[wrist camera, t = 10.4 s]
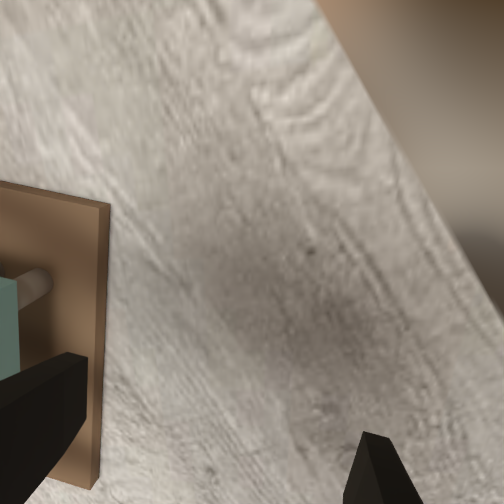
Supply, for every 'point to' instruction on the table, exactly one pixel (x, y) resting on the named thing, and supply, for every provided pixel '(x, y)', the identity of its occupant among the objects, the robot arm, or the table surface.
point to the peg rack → (60, 297)
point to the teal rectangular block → (9, 329)
